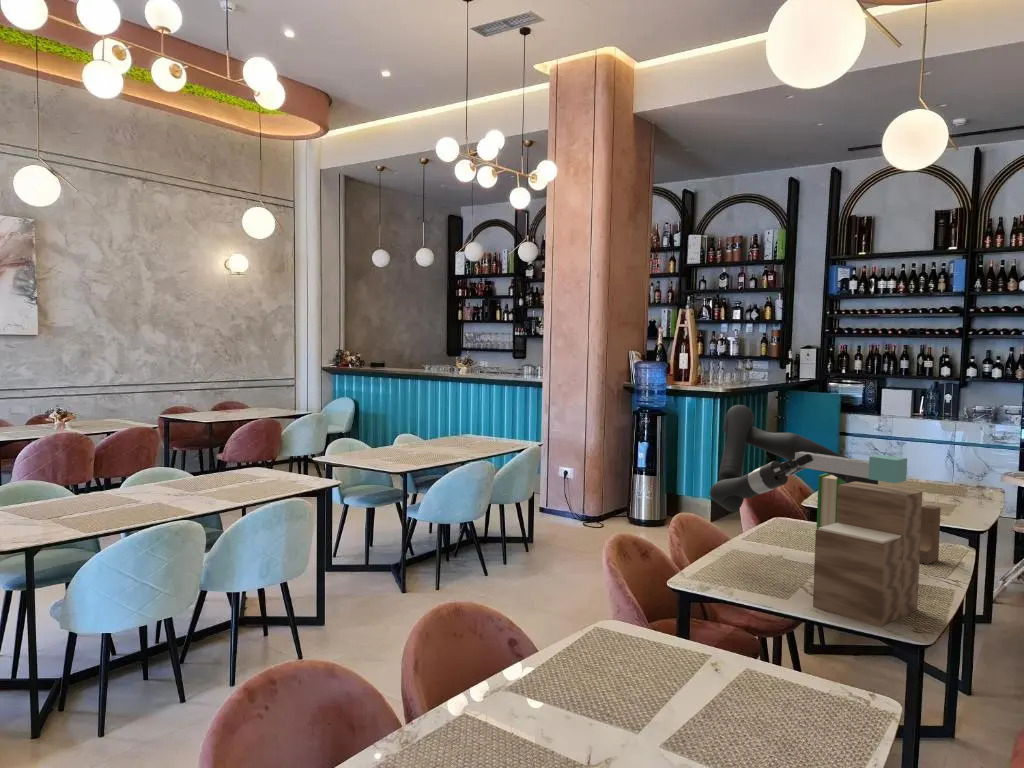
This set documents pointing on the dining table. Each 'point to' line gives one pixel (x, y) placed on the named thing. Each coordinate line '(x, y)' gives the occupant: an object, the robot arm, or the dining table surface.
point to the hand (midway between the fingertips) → (814, 456)
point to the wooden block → (929, 534)
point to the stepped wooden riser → (870, 554)
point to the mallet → (860, 466)
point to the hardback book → (827, 499)
